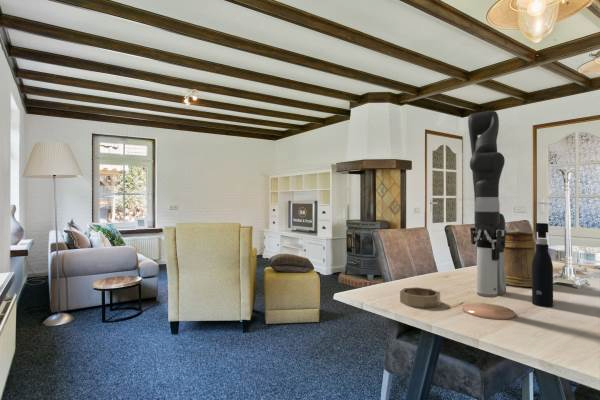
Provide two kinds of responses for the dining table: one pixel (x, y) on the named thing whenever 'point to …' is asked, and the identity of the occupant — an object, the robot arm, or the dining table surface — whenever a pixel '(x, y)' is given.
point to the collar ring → (420, 297)
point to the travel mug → (486, 270)
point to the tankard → (519, 257)
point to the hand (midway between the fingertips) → (487, 258)
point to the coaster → (488, 311)
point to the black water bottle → (542, 270)
